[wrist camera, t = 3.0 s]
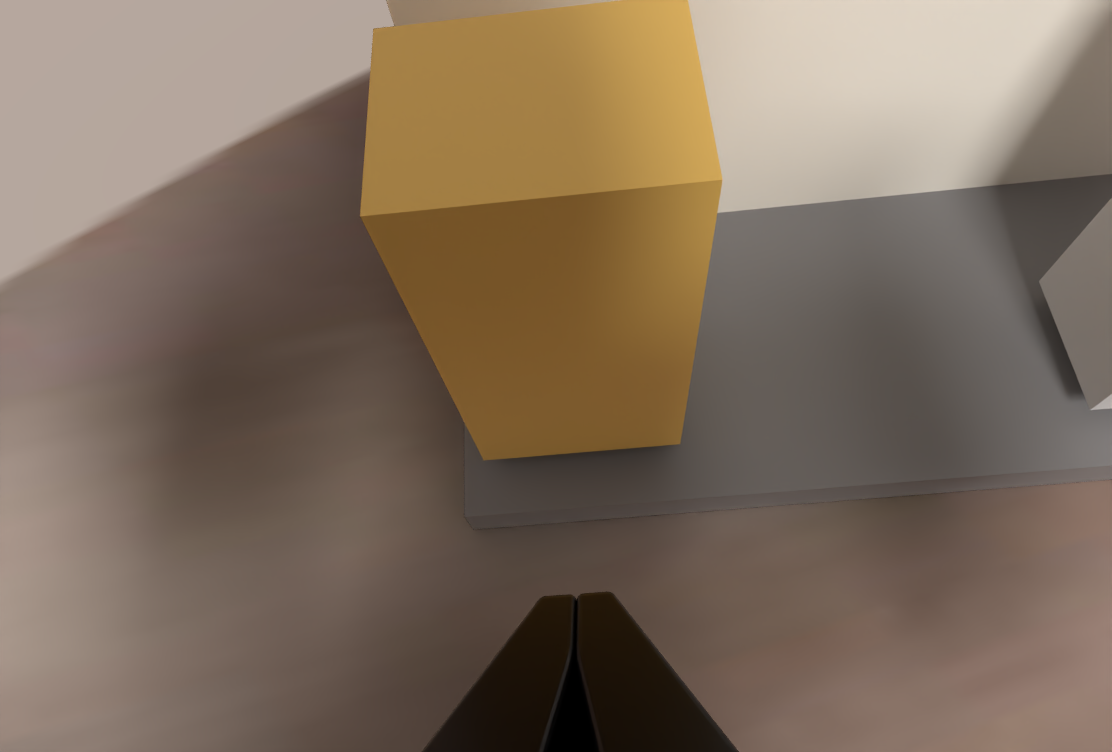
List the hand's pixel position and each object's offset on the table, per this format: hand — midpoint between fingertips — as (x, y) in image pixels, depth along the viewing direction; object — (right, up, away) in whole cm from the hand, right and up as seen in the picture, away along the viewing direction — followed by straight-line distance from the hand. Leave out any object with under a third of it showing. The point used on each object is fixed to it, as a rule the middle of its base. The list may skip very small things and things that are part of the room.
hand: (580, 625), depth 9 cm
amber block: (0, +3, +7) cm, 8 cm away
